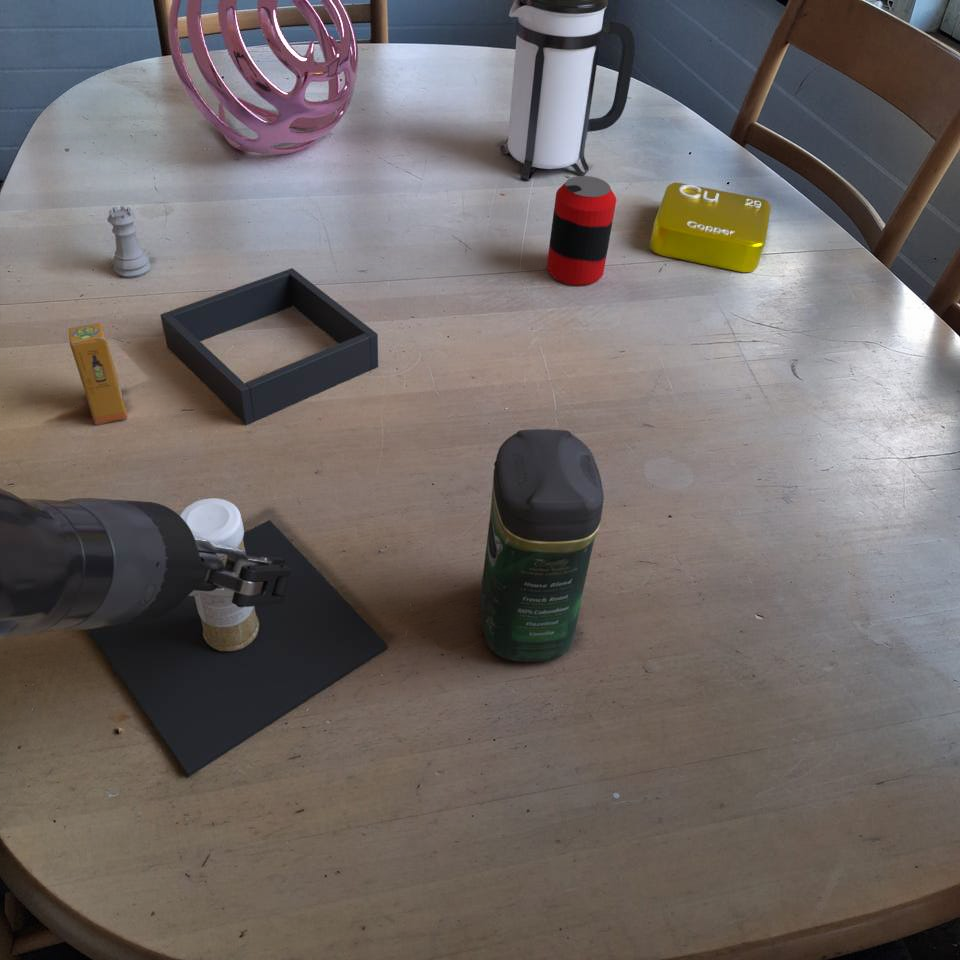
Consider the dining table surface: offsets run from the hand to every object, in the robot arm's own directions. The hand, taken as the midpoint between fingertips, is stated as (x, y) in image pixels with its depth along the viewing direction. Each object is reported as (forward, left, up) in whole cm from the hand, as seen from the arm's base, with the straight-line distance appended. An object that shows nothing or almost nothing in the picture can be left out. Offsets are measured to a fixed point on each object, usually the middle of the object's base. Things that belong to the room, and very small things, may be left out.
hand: (228, 555), depth 69 cm
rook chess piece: (+18, +56, -9) cm, 60 cm away
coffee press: (+85, +49, -9) cm, 99 cm away
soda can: (+64, +23, -9) cm, 69 cm away
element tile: (+86, +18, -9) cm, 88 cm away
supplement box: (+3, +32, -9) cm, 33 cm away
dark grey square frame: (+22, +30, -8) cm, 38 cm away
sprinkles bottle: (-1, -1, -8) cm, 8 cm away
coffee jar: (+19, -15, -9) cm, 25 cm away
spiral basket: (+53, +78, -9) cm, 95 cm away
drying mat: (-1, -1, -8) cm, 9 cm away
